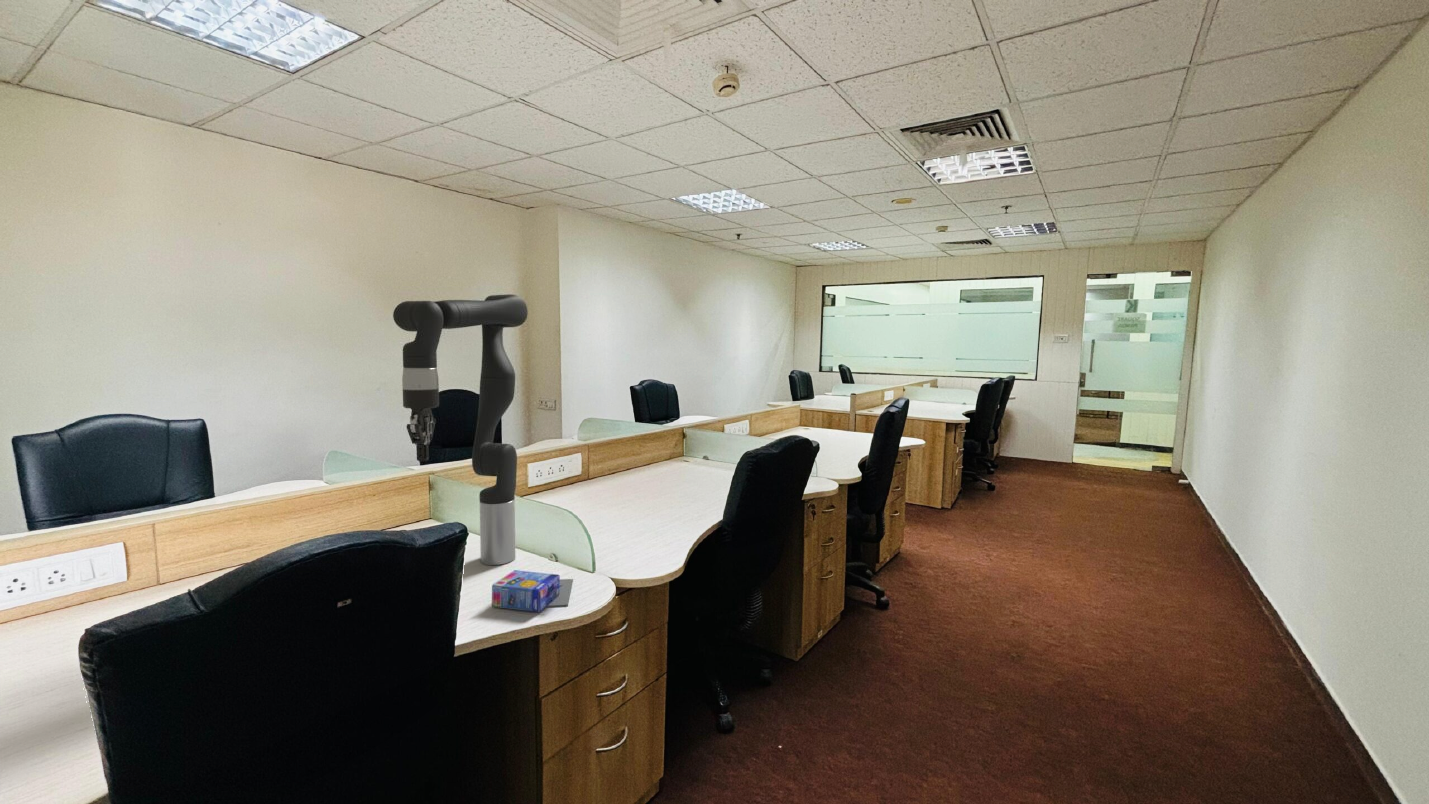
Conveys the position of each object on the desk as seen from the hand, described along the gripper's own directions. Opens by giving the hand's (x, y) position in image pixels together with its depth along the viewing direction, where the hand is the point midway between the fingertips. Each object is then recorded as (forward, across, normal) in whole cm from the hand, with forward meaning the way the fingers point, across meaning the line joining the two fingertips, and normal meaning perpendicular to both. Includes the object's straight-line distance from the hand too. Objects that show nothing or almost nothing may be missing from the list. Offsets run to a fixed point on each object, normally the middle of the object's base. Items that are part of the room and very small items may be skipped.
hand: (422, 460), depth 132 cm
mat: (+33, -3, -28) cm, 43 cm away
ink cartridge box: (+30, -5, -18) cm, 35 cm away
